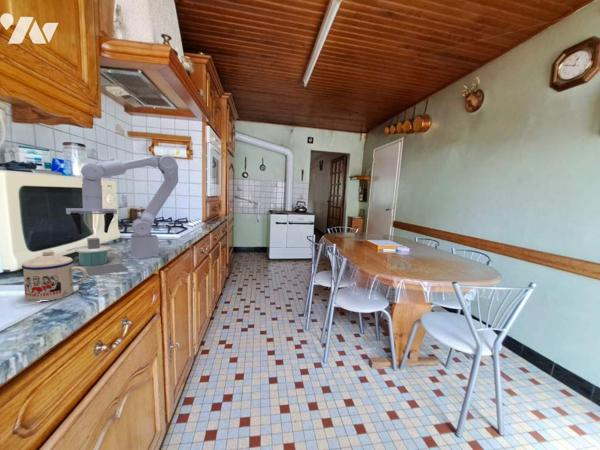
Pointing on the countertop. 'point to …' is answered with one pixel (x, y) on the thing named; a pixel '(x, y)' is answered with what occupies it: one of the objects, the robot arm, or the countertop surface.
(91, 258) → the bowl
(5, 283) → the countertop surface
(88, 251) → the lid
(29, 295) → the teacup with lid
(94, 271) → the mat
